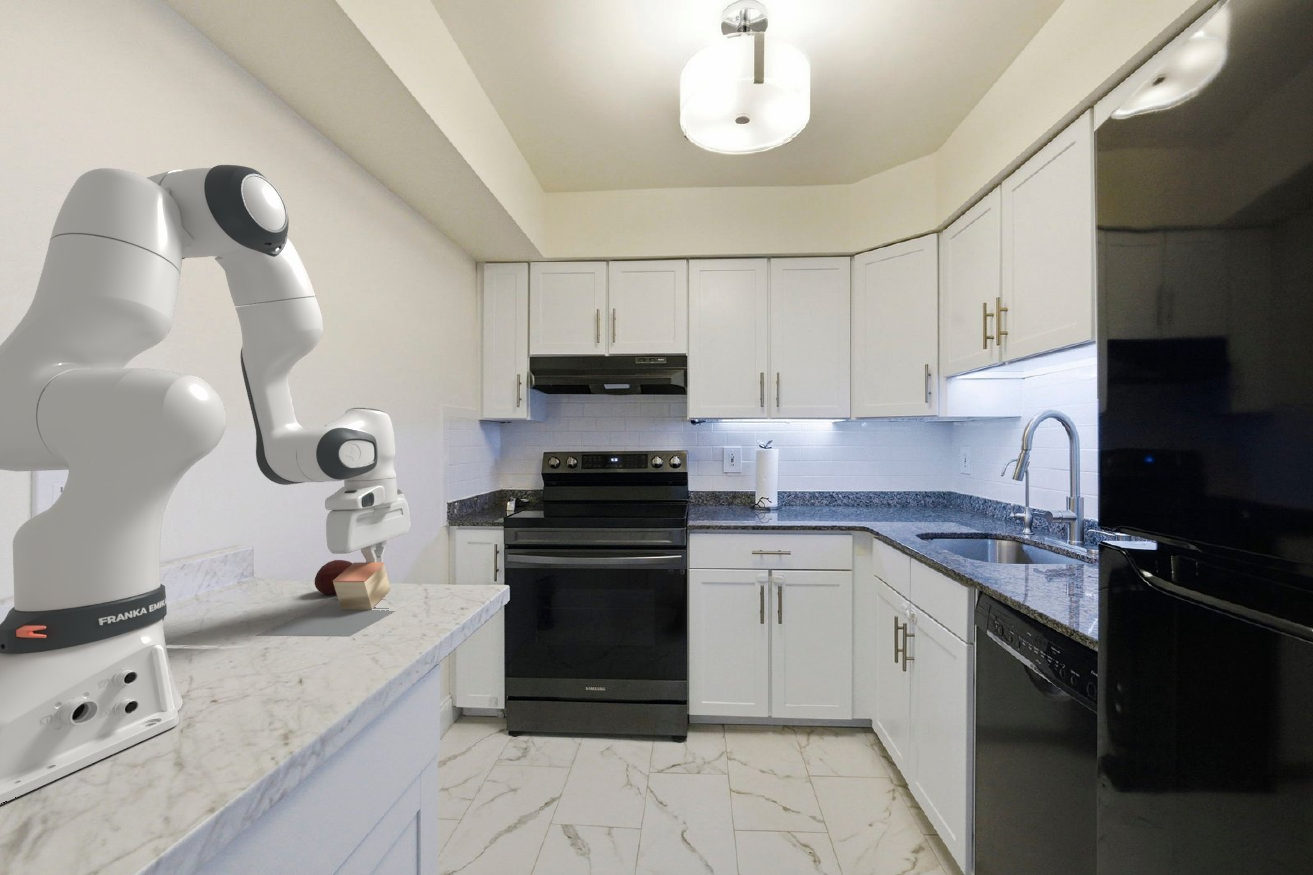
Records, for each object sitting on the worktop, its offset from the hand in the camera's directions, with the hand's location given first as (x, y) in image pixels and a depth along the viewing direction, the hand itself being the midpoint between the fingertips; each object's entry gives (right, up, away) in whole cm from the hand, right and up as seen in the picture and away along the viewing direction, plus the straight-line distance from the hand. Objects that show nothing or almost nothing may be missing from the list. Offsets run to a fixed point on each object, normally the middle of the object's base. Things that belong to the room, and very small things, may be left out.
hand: (374, 566), depth 103 cm
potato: (-11, -8, +7) cm, 15 cm away
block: (0, -5, -3) cm, 6 cm away
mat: (-1, -7, -9) cm, 11 cm away
